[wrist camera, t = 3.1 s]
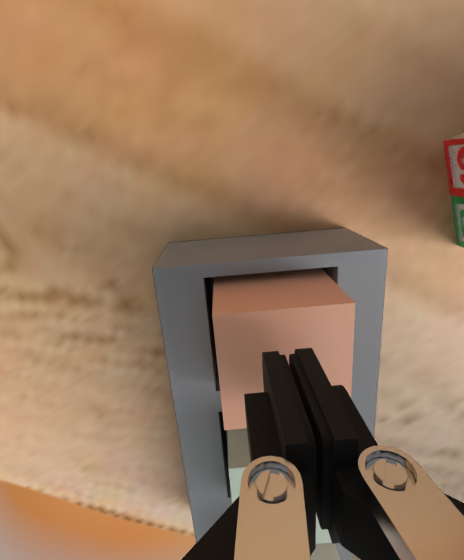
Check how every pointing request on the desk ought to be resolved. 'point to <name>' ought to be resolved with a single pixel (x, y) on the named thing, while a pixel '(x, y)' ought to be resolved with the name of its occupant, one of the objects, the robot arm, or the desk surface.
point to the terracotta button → (278, 330)
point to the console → (202, 351)
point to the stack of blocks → (456, 180)
